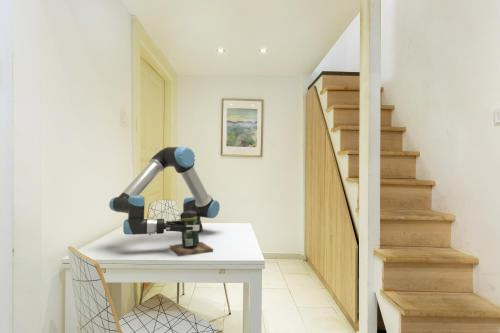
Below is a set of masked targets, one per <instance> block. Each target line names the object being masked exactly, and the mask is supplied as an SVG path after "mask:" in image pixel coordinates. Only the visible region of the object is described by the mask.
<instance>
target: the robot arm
mask: <svg viewBox="0 0 500 333" xmlns="http://www.w3.org/2000/svg"><path fill="white" fill-rule="evenodd" d="M195 157H196V156H195V152H194V151H193V150H192V149H191V148H190V147H188V146H187V147H186V146H167V147H164V148H163V149H161V150H159V151H158V152H156V153H155V155H153V156H152V158H151V159H150V160H148V161H149V163H148V164H147V165H146V166H145V167H144V168H143V170H141V172H140V173H139V174H138V175H137V176H136V177H135V179H134V180H132V181H131V182H130V184H128V186H127V187H126V188H125V189H124V190H123V191H122V192H121V193H120V194H119V195H118V196H114V197H112V198H111V199H110V200H109V202H108V203H109V204H108V206H109V208H110V210H112V211H113V212H116V213H124V214H128V215H127V219H124V221H123V227H122V230H123V234H124V235H133V236H134V235H149V236H151V235H154V234H160V235H161V234H165V231H166V232H177V233H179V232H180V233H182V232H184V233H186V231H198V233H202V232H203V230H204V229H203V228H204V226H203V224H202V221H201V218H206V219H214V218H216V217H217V216H218V215H219V212H220V208H221V206H220V202H219V201H218V200H216V199H215V200H214V199H213V197H212V195H211V194H208V192H207V190H206V189H205V187H204V185H203V183H202V181H201V179H200V177H199V175H198V172H197V171H196V169H195V167H194V166H195V161H196V159H195ZM169 167H170V168H171V167H172V168H174V170H175V171H176V173H177V174H181V175H180V176H182V179H183V180H184V182H185V183H186V185H187V188H188V189H189V192H190V193H191V195H192V197H191V196H190V197H185V198H183V203H182V212H185V211H190V210H194V211H195V212H196V213H197V225H186V226H182V225H181V219H178V220H169V221H168V220H167V221H165V219H164V218H157V219H156V218H145V205H146V203H145V196H144V195H141V194H142V192H143V191H144V190H145V189H146V188H147V187H148V186H149V184H150V183H151V182H152V181H153V180H154V179H155V177H157V175H158V174H159V173H160V172H163V171H164V170H165V169H167V168H169ZM201 231H202V232H201Z"/></svg>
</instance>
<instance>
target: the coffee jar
mask: <svg viewBox="0 0 500 333" xmlns="http://www.w3.org/2000/svg"><path fill="white" fill-rule="evenodd" d="M179 217H180V220H181V225H182V226H186V225H197V213H196V212H195V211H194V210H190V211H185V212H183V211H182V212H181V213H180V216H179ZM199 242H200V238H199V232H198V231H186V233H184V232H181V244H182V246H183V247H192V246H196V245H198V244H199Z"/></svg>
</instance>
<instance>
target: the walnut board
mask: <svg viewBox="0 0 500 333" xmlns="http://www.w3.org/2000/svg"><path fill="white" fill-rule="evenodd" d="M169 249H171V250H172V251H173V252H174V253H175V254H176V255H177V256H178V257H182V256H191V255H199V254H205V253H212V252H214V248H213V247H211V246H210V245H207V244H206V243H204V242H203V241H199V244H198V245H196V246H192V247H183V246H182V243H179V244H178V243H177V244H170V245H169Z"/></svg>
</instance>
